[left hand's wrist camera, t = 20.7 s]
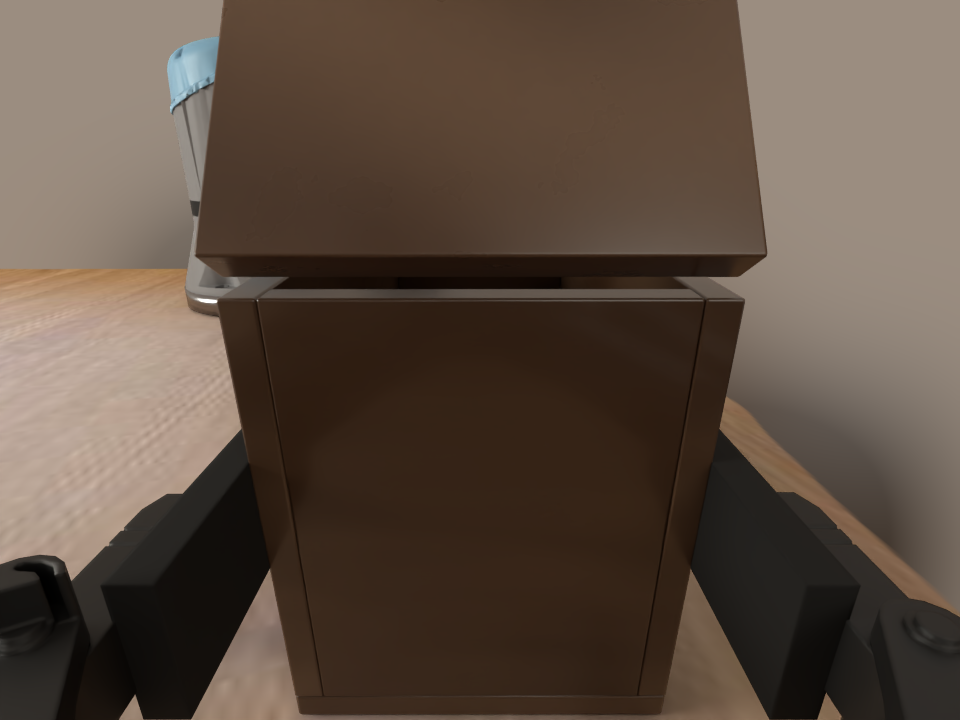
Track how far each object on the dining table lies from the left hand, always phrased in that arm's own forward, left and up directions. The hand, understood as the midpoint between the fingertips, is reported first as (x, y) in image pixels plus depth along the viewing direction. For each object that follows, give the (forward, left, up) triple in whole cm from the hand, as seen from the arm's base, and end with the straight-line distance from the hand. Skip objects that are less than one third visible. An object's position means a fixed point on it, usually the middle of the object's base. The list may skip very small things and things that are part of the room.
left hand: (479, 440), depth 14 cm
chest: (+5, +1, -6) cm, 8 cm away
